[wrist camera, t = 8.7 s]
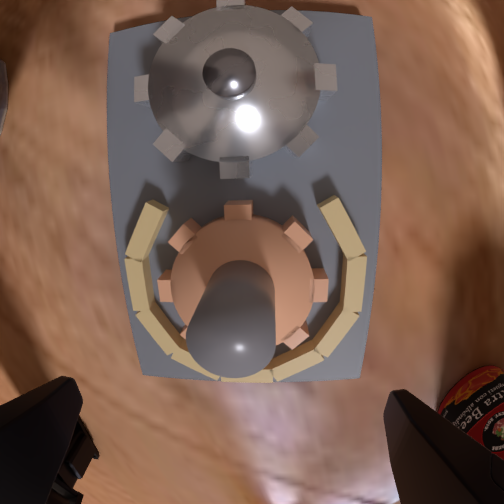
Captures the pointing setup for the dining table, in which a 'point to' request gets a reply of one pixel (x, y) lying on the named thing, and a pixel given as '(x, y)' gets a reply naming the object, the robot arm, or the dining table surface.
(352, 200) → the carrier plate
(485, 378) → the canned food
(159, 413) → the dining table surface
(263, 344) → the planet gear
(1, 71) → the pot
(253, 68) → the sun gear
